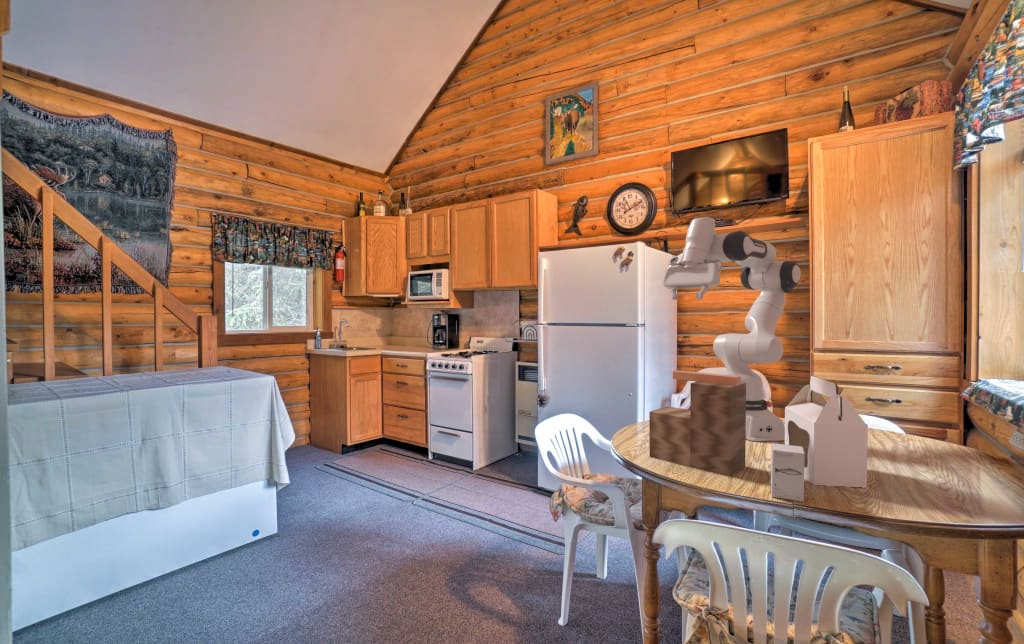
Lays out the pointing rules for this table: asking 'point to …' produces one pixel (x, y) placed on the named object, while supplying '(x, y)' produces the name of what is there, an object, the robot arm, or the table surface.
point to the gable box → (828, 435)
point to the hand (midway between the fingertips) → (686, 299)
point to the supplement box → (787, 472)
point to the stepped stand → (703, 429)
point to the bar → (707, 377)
